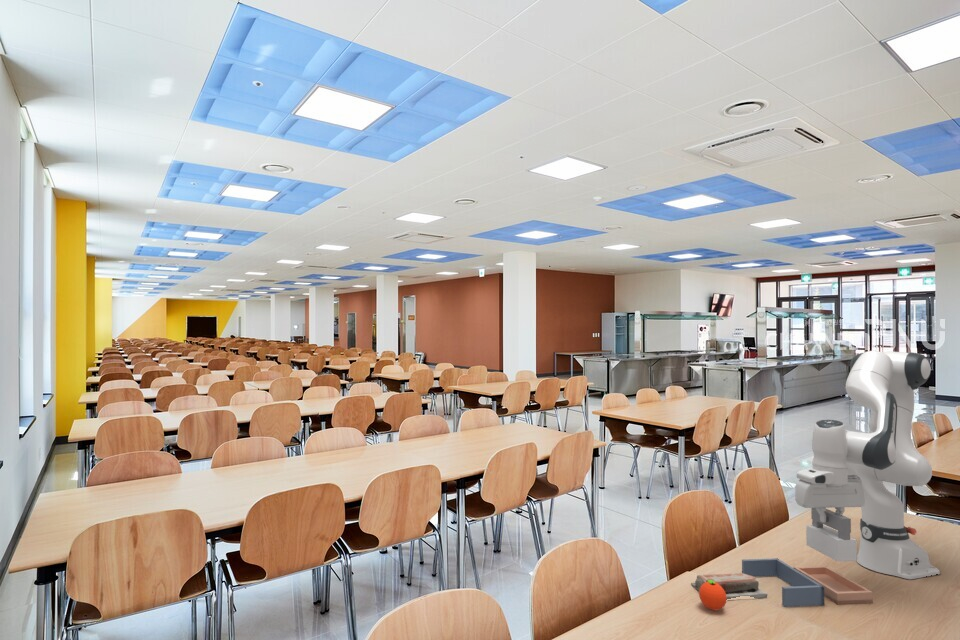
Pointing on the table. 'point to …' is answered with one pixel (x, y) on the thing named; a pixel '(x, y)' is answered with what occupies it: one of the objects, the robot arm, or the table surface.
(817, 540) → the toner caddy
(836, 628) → the table surface
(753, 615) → the table surface
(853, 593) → the terracotta tray
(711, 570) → the table surface
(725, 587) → the packaged product
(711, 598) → the clementine
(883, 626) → the table surface
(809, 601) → the slate bay
